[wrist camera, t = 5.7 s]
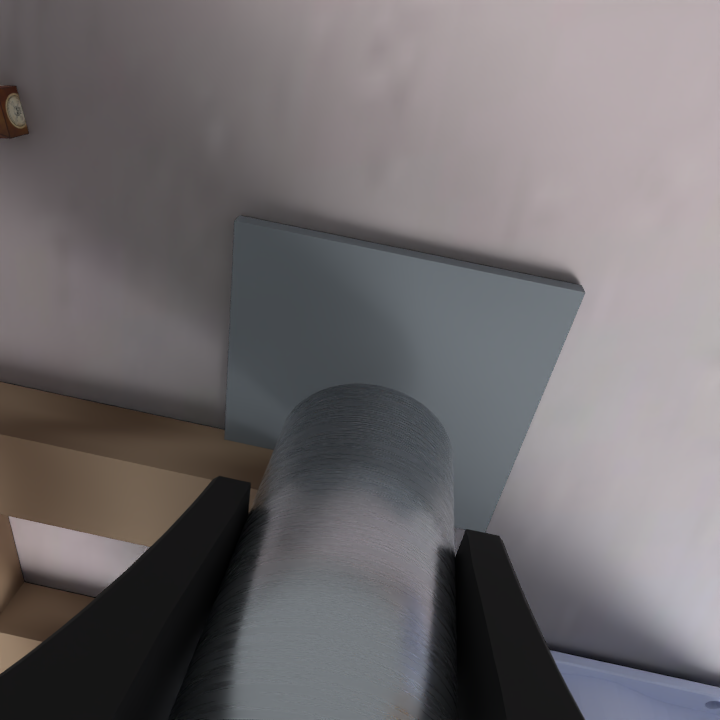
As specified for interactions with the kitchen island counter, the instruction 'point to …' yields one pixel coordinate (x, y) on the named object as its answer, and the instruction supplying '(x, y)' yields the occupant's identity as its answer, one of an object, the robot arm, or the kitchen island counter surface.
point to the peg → (339, 574)
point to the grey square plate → (393, 343)
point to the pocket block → (95, 489)
